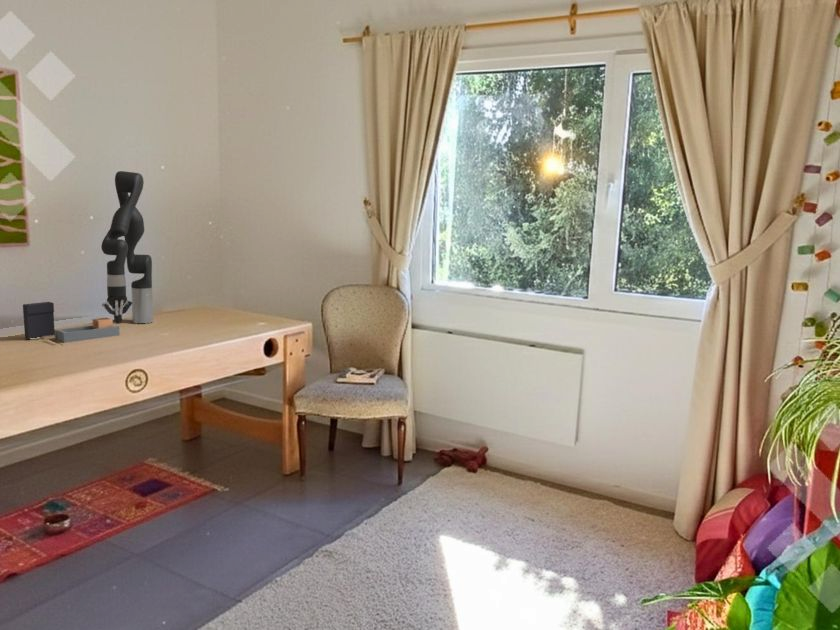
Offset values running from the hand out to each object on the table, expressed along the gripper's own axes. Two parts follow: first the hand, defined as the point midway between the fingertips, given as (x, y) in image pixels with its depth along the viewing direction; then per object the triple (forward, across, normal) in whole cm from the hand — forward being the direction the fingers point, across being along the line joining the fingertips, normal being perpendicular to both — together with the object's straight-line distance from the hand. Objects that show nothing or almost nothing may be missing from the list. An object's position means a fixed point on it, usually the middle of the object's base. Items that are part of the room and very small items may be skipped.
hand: (118, 323), depth 291 cm
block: (+4, +7, 0) cm, 8 cm away
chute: (+5, +13, 0) cm, 14 cm away
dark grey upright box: (+6, +27, -15) cm, 31 cm away
